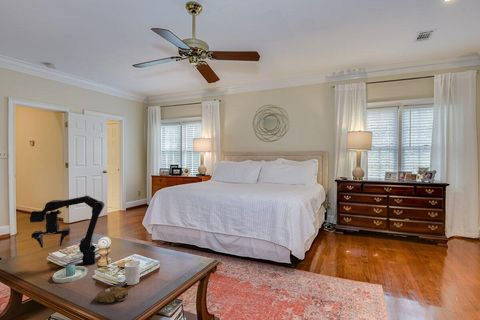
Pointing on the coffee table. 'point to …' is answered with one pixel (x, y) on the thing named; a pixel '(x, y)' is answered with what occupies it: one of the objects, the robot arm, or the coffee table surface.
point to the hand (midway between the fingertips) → (51, 247)
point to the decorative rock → (112, 294)
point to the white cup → (132, 272)
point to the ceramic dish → (62, 278)
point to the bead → (70, 270)
